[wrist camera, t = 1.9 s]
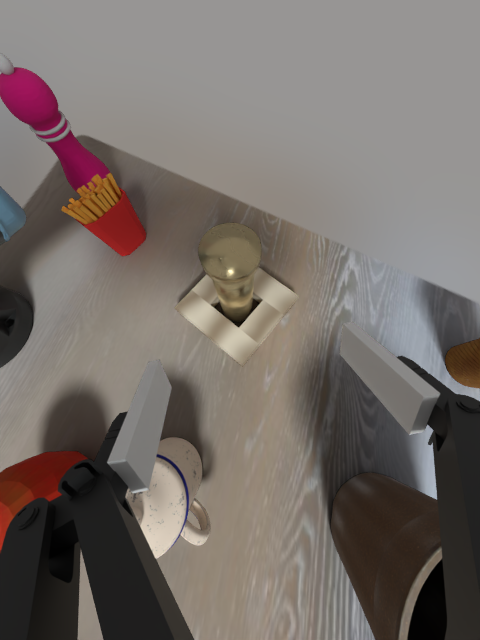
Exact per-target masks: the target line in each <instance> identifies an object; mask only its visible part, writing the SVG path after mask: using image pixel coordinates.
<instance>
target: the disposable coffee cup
mask: <svg viewBox="0 0 480 640" xmlns="http://www.w3.org/2000/svg"><path fill="white" fill-rule="evenodd" d="M445 363H446V367H447V370H448V372H449V373H450V375H451V376H452V377H453V378H454V379H455V380H456V381H457V382H459V383H460V384H462V385H464V386H468V387H474V388H480V338H479V339H476V340H474V341H470V342H467V343H464V344H460V345H457V346H454V347H452V348H451V349H450V350H449V351H448V352H447V354H446V357H445Z"/></svg>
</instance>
